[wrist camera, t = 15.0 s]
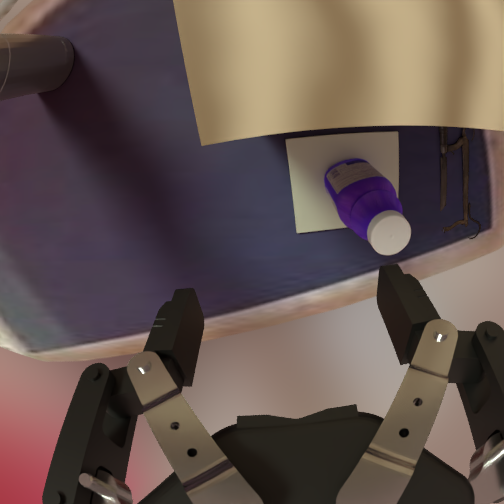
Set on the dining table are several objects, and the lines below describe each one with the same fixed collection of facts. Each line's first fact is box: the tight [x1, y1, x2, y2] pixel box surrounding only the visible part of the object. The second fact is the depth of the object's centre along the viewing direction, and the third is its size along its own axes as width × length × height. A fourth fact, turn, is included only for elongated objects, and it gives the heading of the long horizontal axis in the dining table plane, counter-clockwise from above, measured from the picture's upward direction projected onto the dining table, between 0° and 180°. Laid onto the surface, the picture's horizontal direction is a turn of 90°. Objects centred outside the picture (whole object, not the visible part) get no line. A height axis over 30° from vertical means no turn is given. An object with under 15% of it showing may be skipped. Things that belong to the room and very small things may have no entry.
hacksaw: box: [439, 126, 481, 239], centre depth 38 cm, size 24×10×2 cm, turn 14°
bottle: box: [324, 158, 411, 255], centre depth 32 cm, size 7×6×17 cm
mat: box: [285, 131, 399, 233], centre depth 40 cm, size 16×14×1 cm
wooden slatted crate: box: [173, 0, 504, 146], centre depth 18 cm, size 26×18×26 cm
